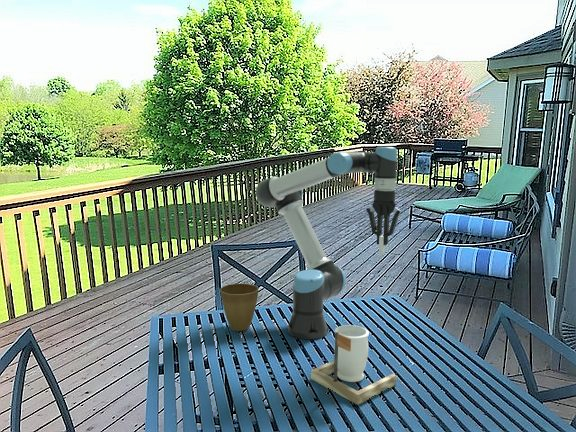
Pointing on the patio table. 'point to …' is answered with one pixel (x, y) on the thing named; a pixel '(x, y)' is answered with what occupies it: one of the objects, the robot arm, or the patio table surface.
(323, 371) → the box
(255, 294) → the plant pot
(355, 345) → the jar
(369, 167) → the robot arm
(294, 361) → the patio table surface
